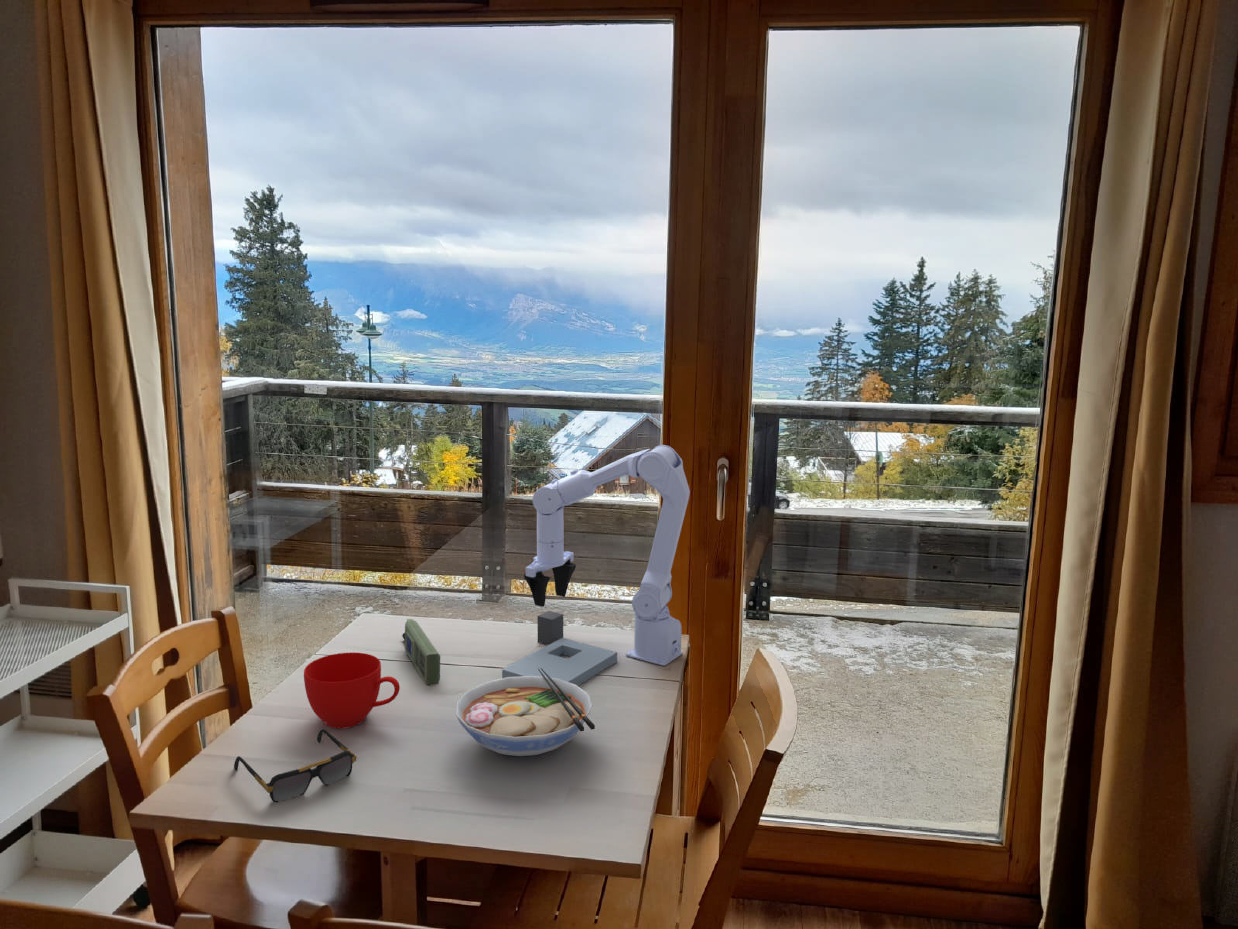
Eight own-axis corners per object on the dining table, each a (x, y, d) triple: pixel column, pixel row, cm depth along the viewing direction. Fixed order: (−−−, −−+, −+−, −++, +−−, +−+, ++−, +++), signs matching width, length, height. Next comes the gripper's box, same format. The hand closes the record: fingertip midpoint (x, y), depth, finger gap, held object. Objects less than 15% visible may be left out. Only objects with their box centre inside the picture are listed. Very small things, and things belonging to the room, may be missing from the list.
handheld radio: (424, 687, 173) (396, 641, 195) (441, 685, 174) (412, 640, 196) (424, 654, 171) (397, 612, 194) (441, 652, 173) (412, 611, 195)
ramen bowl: (443, 722, 158) (441, 679, 156) (566, 703, 166) (566, 661, 165) (472, 796, 135) (471, 746, 134) (614, 769, 143) (615, 722, 142)
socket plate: (617, 661, 185) (617, 652, 185) (559, 696, 169) (559, 686, 168) (562, 646, 193) (562, 637, 192) (502, 679, 176) (502, 669, 176)
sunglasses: (318, 743, 151) (316, 715, 150) (360, 779, 140) (359, 749, 139) (233, 771, 142) (231, 742, 141) (271, 812, 131) (269, 781, 130)
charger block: (563, 640, 196) (563, 614, 195) (552, 646, 193) (552, 619, 192) (548, 636, 198) (548, 610, 197) (537, 642, 195) (537, 616, 194)
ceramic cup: (383, 744, 150) (381, 688, 148) (291, 733, 154) (288, 678, 152) (415, 709, 163) (414, 657, 161) (330, 700, 166) (327, 649, 164)
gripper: (555, 529, 199) (555, 588, 202) (513, 544, 187) (514, 606, 190) (581, 534, 196) (581, 594, 198) (540, 549, 184) (541, 613, 186)
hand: (550, 600), depth 194 cm, fingers open, 7 cm apart
